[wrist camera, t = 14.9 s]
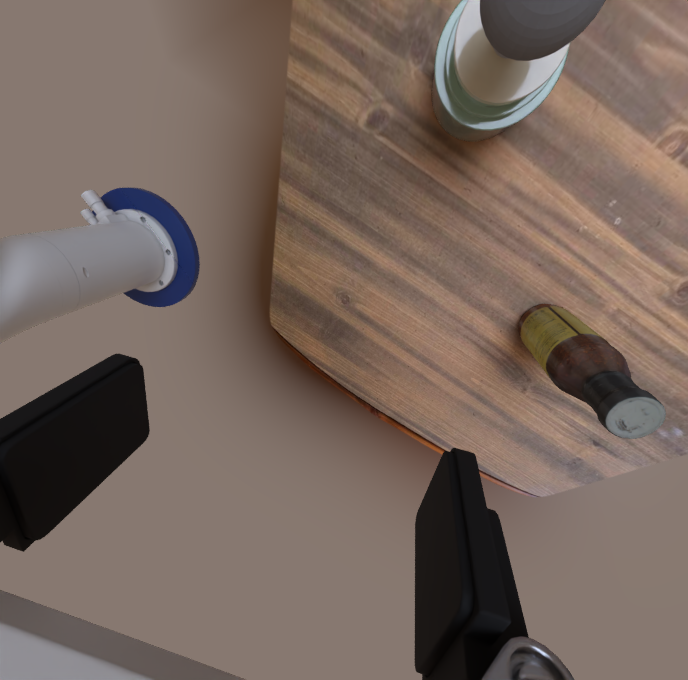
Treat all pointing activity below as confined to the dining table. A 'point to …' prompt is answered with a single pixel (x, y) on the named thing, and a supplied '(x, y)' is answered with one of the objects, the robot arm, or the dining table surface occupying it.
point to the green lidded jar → (485, 79)
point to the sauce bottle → (590, 371)
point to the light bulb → (534, 25)
